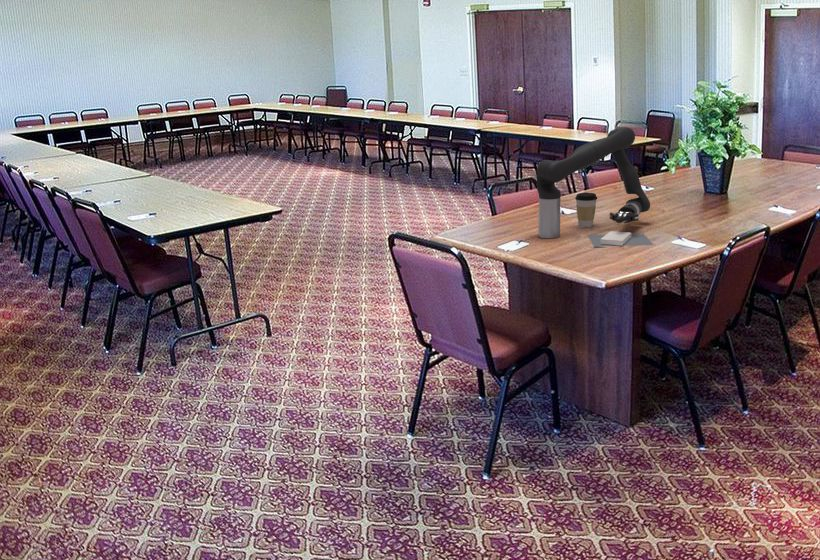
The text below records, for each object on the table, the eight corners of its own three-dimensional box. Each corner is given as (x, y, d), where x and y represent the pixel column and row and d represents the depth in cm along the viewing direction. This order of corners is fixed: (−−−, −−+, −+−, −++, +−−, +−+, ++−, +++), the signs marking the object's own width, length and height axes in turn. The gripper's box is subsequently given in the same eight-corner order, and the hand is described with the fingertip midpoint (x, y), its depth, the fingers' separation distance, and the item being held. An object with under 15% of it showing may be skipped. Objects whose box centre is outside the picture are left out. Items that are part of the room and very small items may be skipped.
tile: (610, 231, 333) (600, 239, 321) (631, 232, 329) (622, 240, 316) (610, 236, 334) (600, 244, 321) (631, 237, 330) (622, 246, 317)
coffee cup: (600, 226, 355) (601, 193, 351) (588, 230, 348) (589, 197, 344) (582, 223, 362) (583, 191, 357) (570, 227, 355) (570, 195, 351)
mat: (594, 247, 319) (594, 246, 319) (587, 236, 338) (587, 234, 338) (653, 246, 317) (653, 244, 317) (643, 234, 336) (643, 233, 336)
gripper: (614, 203, 343) (603, 211, 328) (644, 205, 336) (634, 213, 322) (613, 220, 345) (602, 228, 330) (643, 222, 338) (634, 230, 324)
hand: (618, 220), depth 326 cm, fingers closed
